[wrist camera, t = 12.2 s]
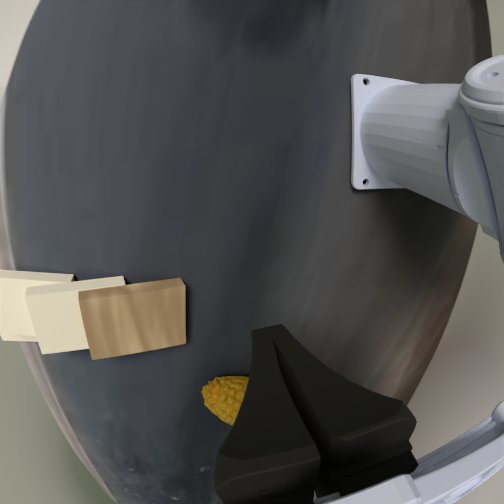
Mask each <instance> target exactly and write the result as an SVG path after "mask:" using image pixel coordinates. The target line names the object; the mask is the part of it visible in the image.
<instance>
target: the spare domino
mask: <svg viewBox="0 0 504 504" xmlns="http://www.w3.org/2000/svg"><path fill="white" fill-rule="evenodd" d="M78 301H79V306H80V311H81V316H82V320H83V325H84V329H85V333H86V338H87V342H88V346H89V350H90V354H91V357H92V360H95V359H102V358H108V357H115V356H121V355H127V354H133V353H139V352H145V351H150V350H156V349H161V348H166V347H171V346H177V345H182V344H186V313H185V284H184V283H183V281H182V280H181V278H174V279H167V280H159V281H152V282H145V283H137V284H129V285H122V286H114V287H107V288H99V289H91V290H84V291H78Z"/></svg>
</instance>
